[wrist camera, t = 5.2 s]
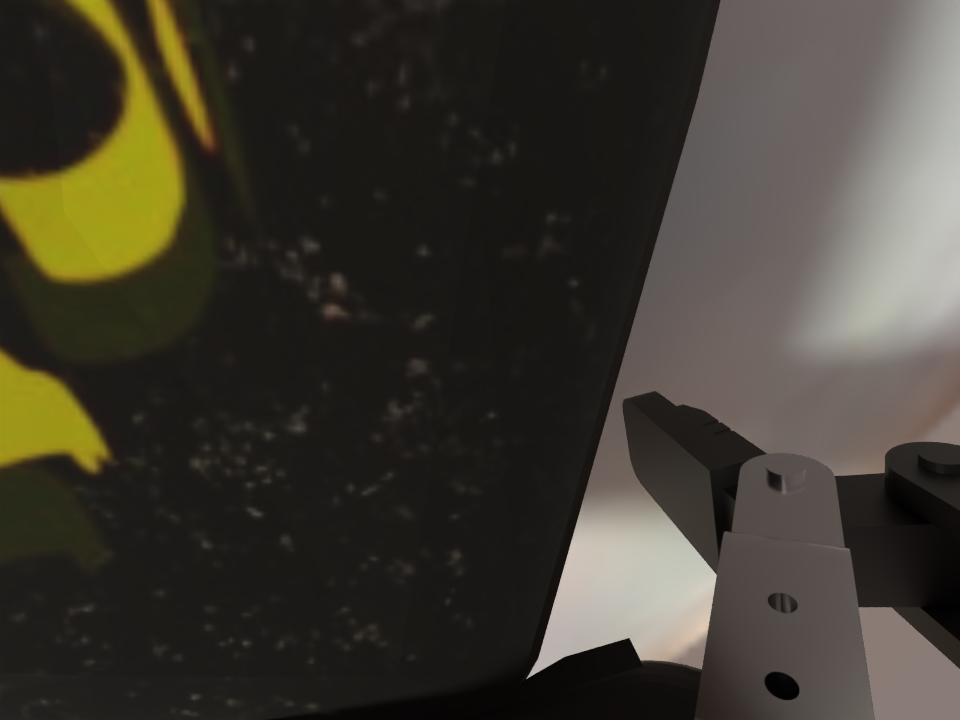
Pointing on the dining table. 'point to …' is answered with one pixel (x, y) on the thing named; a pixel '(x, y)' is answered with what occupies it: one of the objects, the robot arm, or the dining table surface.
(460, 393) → the toy van
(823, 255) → the dining table surface
